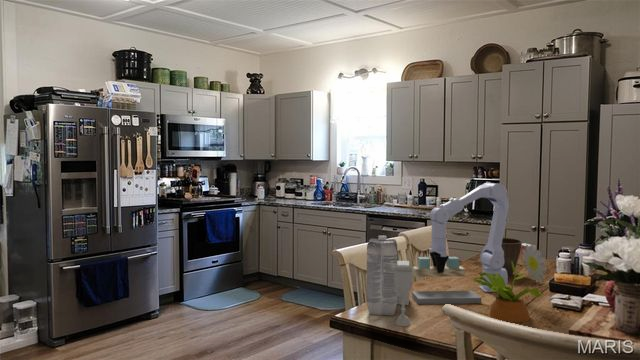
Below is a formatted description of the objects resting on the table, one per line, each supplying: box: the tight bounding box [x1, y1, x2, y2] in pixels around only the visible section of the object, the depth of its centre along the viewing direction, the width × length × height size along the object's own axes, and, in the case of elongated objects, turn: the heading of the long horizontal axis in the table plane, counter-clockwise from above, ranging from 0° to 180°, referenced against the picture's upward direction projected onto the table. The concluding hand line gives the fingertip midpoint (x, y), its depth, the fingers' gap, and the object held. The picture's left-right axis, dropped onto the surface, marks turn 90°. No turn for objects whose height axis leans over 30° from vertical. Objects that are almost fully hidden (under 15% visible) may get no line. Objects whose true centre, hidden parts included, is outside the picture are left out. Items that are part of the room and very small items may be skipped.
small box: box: [517, 242, 537, 268], centre depth 252 cm, size 8×6×10 cm
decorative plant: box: [473, 243, 548, 323], centre depth 172 cm, size 27×24×25 cm
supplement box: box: [397, 260, 411, 306], centre depth 189 cm, size 9×9×15 cm
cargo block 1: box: [417, 256, 431, 269], centre depth 201 cm, size 4×4×4 cm
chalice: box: [393, 267, 414, 327], centre depth 164 cm, size 7×7×18 cm
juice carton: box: [366, 235, 398, 317], centre depth 175 cm, size 9×10×27 cm
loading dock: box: [411, 290, 482, 305], centre depth 192 cm, size 24×10×2 cm, turn 92°
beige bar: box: [412, 265, 466, 278], centre depth 202 cm, size 20×5×3 cm, turn 92°
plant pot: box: [501, 237, 523, 277], centre depth 232 cm, size 15×15×16 cm
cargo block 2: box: [445, 256, 460, 269], centre depth 202 cm, size 4×4×4 cm
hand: (438, 271), depth 202 cm, fingers closed on beige bar, 5 cm apart
